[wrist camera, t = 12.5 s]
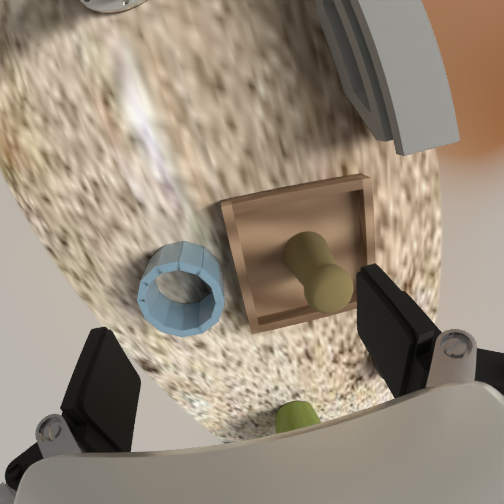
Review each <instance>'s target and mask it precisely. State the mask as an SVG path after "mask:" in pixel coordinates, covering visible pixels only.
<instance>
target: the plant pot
mask: <svg viewBox="0 0 504 504" xmlns="http://www.w3.org/2000/svg"><path fill="white" fill-rule="evenodd" d="M319 423H321V421H320V420H319V418H318V416H317V414H316V413H315V411H314V409H313V407H312V406H311V405H310V404H309V403H307V402H299V401H295V402H291V403H288V404H286V405H284V406H282V407H281V408H280V409H279V410H278V412H277V413H276V434H279V433H283V432H288V431H292V430H296V429H300V428H304V427H308V426H312V425H315V424H319Z"/></svg>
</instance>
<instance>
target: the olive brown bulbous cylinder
mask: <svg viewBox="0 0 504 504" xmlns="http://www.w3.org/2000/svg"><path fill="white" fill-rule="evenodd" d="M283 258H284V262H285V264H286V266H287V268H288V269H289V270H290V271H291V272H292V273H293V275H294V276H295V277H296V278H297V279H298V281H299V282H300V283H301V284H302V285H303V286H304V295H305V298H306V300H307V302H308V304H309V306H311V307H312V308H313V309H314V310H315V311H317V312H320V313H326V314H331V313H335V312H338V311H340V310H341V309H343V308H344V307H345V306H346V305H347V304H348V303H349V301H350V300H351V297H352V294H353V291H354V290H353V281H352V279H351V276H350V275H349V273H348V272H347V271H346V270H345V269H344V268H342V267H340V266H337V264H336V262H335V260H334V257H333V255H332V253H331V251H330V249H329V247H328V245H327V242H326V240H325V239H324V238H323V237H322V236H321V235H320V234H318V233H316V232H311V231H305V232H300V233H298V234H296V235H294V236H293V237H292V238H291V239H290V240H289V241H288V242H287V244H286V246H285V248H284V253H283Z"/></svg>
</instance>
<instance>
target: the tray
mask: <svg viewBox="0 0 504 504" xmlns="http://www.w3.org/2000/svg"><path fill="white" fill-rule="evenodd" d="M221 209H222V213H223V218H224V222H225V226H226V231H227V235H228V239H229V243H230V247H231V252H232V256H233V260H234V264H235V268H236V272H237V277H238V281H239V285H240V289H241V293H242V297H243V301H244V305H245V309H246V313H247V317H248V321H249V325H250V329H251V333H252V334H255V333H260V332H264V331H269V330H273V329H278V328H282V327H286V326H291V325H295V324H299V323H303V322H307V321H311V320H315V319H319V318H323V317H327V316H331V315H334V314H338V313H342V312H345V311H349V310H353V309H356V308H357V287H356V274H357V272H360V268H361V267H363V266H367V265H370V264H374V263H375V229H374V209H373V194H372V182H371V178H370V177H368V176H366V175H363V174H355V175H349V176H343V177H337V178H331V179H325V180H320V181H314V182H309V183H303V184H298V185H293V186H287V187H282V188H277V189H272V190H267V191H262V192H257V193H253V194H248V195H243V196H239V197H234V198H229V199H225V200H221ZM305 231H311V232H316V233H318V234H320V235H321V236H322V237H323V238H324V239H325V240H326V242H327V245H328V247H329V249H330V251H331V253H332V255H333V257H334V260H335V262H336V264H337V266H340V267H342V268H344V269H345V270H346V271H347V272H348V273H349V275H350V276H351V279H352V281H353V290H354V291H353V294H352V297H351V300H350V301H349V303H348V304H347V305H346V306H345V307H344V308H343V309H341V310H340V311H338V312H335V313H331V314H326V313H320V312H317V311H315V310H314V309H313V308H312V307H311V306H309V304H308V302H307V300H306V298H305V295H304V286H303V285H302V284H301V283H300V282H299V281H298V279H297V278H296V277H295V276H294V275H293V273H292V272H291V271H290V270H289V269H288V268H287V266H286V264H285V262H284V258H283V253H284V248H285V246H286V244H287V242H288V241H289V240H290V239H291V238H292V237H293V236H294V235H296V234H298V233H300V232H305Z"/></svg>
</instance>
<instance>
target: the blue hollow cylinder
mask: <svg viewBox="0 0 504 504" xmlns="http://www.w3.org/2000/svg"><path fill="white" fill-rule="evenodd" d="M176 270H181V271H185V272H188V273H192V274H196V275H198V276H199V277H200V278H201V279H203V280H204V281H205V282H206V283H207V284H208V285H209V286H210V287H211V288H212V292H211V293H210V294H209V295H207V296H206V297H205V298H204V299H203V300H201V301H200V302H195V303H190V304H182V303H178V302H174V301H171V300H169V299H168V298H167V297H166V296H165V295H163V294H162V293H161V292H160V291H159V289H158V287H157V284H156V281H155V279H156V278H157V277H158V276H159V275H160V274H162V273H167V272H171V271H176ZM137 302H138V304H139V307H140V309H141V311H142V314H143V316H144V318H145V319H146V320H147V321H148V322H149V323H151V324H152V325H153V326H154V327H156V328H157V329H158V330H159V331H162V332H163V333H167V334H171V335H175V336H179V337H186V336H192V335H197V334H202V333H204V332H205V331H207V330H208V329H209V328H210V327H212V326H213V325H214V324H216V323H217V322H218V321H219V318H220V315H221V313H222V310H223V307H224V304H225V298H224V278H223V275H222V271H221V267H220V263H219V260H217V259H216V258H215V257H214V256H213V255H212V254H211V253H210V252H209V251H208V250H207V249H206V248H205V247H203V246H200V245H196V244H193V243H189V242H185V241H182V242H178V243H173V244H169V245H165V246H163V247H162V248H161V249H160V250H159V251H158V252H157V253H156V254H155V255H154V256H153V257H152V258H151V259H150V261H149V263H148V265H147V267H146V270H145V272H144V274H143V276H142V279H141V281H140V286H139V291H138V297H137Z"/></svg>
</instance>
